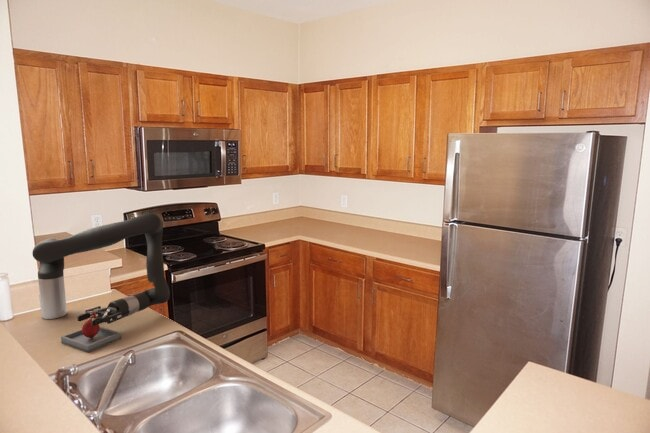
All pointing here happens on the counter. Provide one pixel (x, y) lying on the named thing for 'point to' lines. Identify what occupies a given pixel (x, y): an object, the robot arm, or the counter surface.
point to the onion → (90, 329)
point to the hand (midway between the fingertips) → (84, 321)
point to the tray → (90, 339)
